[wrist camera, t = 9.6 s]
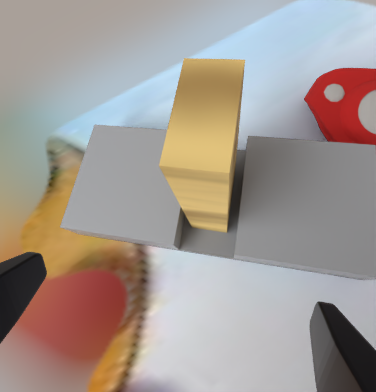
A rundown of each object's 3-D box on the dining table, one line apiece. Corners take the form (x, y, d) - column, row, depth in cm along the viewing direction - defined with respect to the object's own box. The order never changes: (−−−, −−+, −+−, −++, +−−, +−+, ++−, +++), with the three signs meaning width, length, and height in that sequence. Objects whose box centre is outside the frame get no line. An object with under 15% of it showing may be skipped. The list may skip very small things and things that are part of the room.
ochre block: (226, 232, 22) (229, 173, 10) (192, 227, 22) (158, 165, 11) (235, 168, 23) (245, 59, 12) (203, 165, 24) (184, 58, 13)
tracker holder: (404, 181, 21) (296, 118, 21) (368, 184, 25) (280, 132, 26) (485, 52, 20) (374, -8, 21) (435, 79, 25) (344, 28, 25)
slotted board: (361, 279, 19) (384, 278, 17) (79, 234, 24) (59, 227, 21) (356, 162, 23) (375, 144, 20) (108, 141, 27) (94, 124, 24)
